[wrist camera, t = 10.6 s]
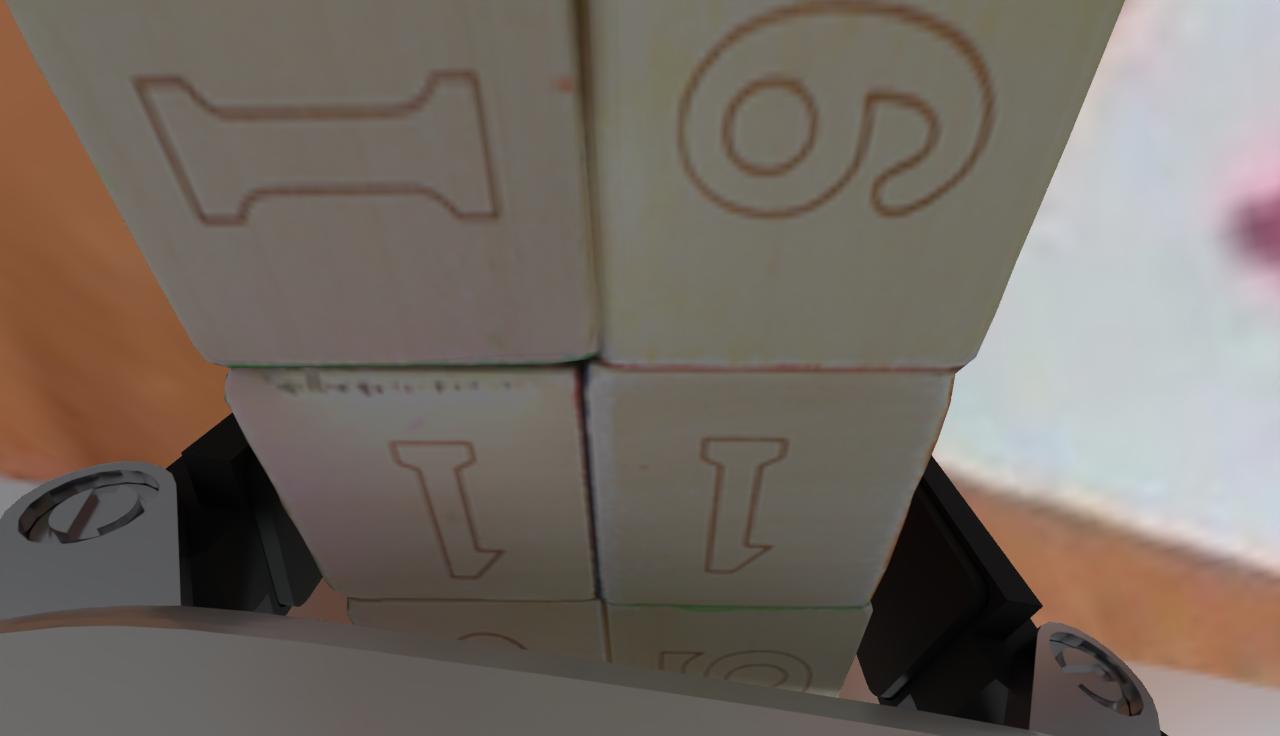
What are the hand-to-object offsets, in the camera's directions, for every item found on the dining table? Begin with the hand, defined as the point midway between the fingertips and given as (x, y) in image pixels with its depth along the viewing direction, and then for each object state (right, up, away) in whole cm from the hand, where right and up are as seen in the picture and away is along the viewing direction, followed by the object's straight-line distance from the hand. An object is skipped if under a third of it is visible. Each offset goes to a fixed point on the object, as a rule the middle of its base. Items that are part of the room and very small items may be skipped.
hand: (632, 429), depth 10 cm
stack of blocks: (0, +4, +7) cm, 8 cm away
